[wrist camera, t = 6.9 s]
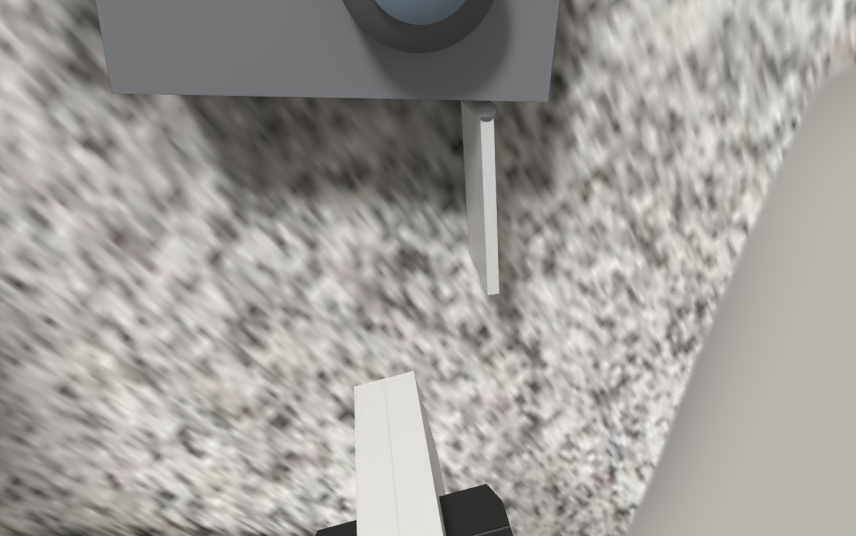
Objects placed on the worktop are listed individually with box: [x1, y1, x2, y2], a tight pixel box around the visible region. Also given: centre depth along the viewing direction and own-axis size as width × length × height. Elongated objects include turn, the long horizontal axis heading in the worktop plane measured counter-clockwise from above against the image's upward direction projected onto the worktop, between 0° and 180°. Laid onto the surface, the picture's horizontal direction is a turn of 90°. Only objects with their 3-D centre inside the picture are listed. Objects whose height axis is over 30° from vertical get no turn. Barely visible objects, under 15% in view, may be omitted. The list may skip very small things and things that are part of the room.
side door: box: [460, 100, 499, 295], centre depth 30 cm, size 10×1×6 cm, turn 5°
